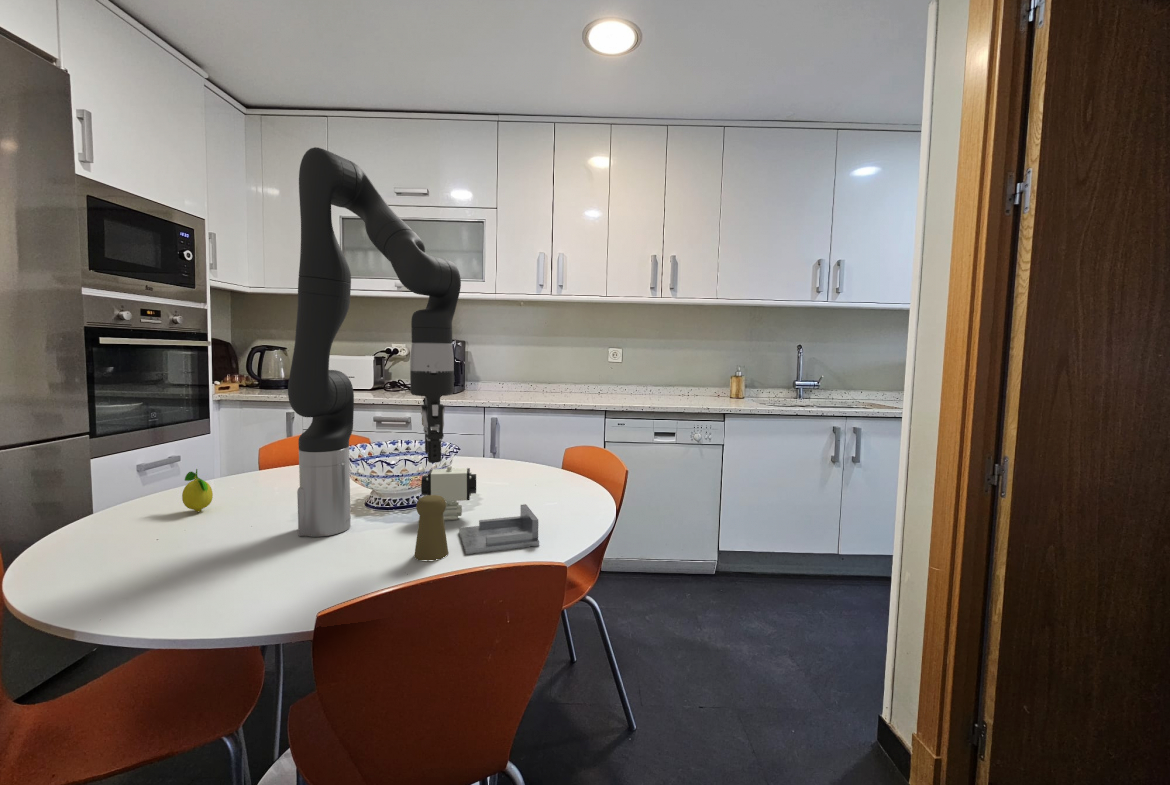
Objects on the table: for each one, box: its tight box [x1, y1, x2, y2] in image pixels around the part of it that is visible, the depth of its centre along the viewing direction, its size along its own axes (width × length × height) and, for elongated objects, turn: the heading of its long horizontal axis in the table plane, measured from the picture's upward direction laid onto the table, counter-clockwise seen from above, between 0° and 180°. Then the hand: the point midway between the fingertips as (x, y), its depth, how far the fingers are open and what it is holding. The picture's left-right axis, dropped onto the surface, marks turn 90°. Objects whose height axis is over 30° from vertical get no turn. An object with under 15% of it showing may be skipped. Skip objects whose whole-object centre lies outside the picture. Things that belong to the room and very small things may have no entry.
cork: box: [413, 495, 449, 561], centre depth 91 cm, size 6×6×11 cm
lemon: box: [181, 468, 214, 512], centre depth 113 cm, size 7×6×10 cm
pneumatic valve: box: [420, 465, 477, 522], centre depth 112 cm, size 6×12×12 cm, turn 102°
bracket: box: [458, 503, 540, 555], centre depth 100 cm, size 14×12×5 cm
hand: (432, 457), depth 91 cm, fingers open, 8 cm apart
